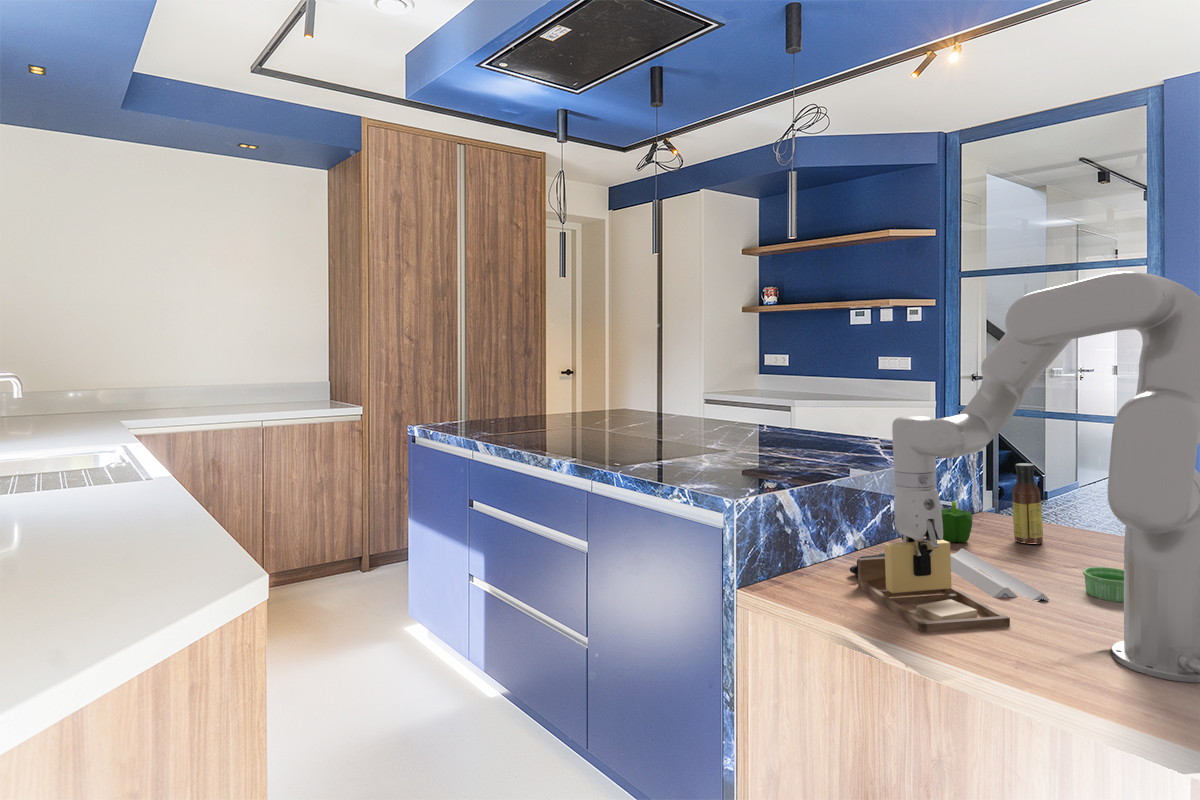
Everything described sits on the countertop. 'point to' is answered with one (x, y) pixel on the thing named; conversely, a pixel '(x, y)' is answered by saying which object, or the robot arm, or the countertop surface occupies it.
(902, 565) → the panel
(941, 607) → the offcut upper
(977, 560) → the crown molding
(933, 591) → the rack
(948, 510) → the bell pepper
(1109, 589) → the ramekin
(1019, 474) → the sauce bottle
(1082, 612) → the countertop surface
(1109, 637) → the countertop surface
